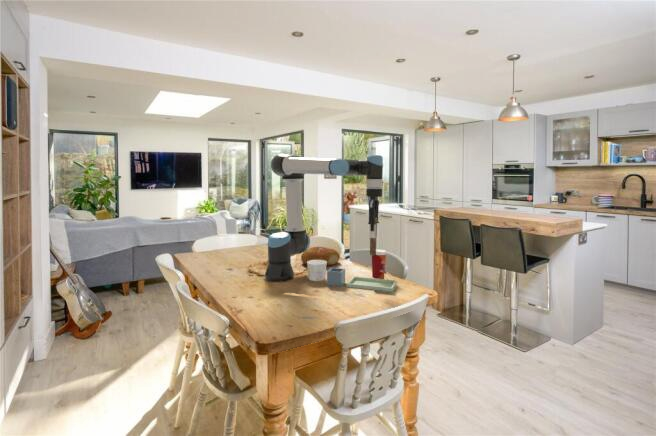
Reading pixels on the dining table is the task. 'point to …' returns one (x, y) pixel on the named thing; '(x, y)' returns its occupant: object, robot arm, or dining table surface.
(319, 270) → the cup
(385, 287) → the tray
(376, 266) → the coffee cup
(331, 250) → the bread
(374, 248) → the dowel
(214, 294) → the dining table surface
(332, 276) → the pot
